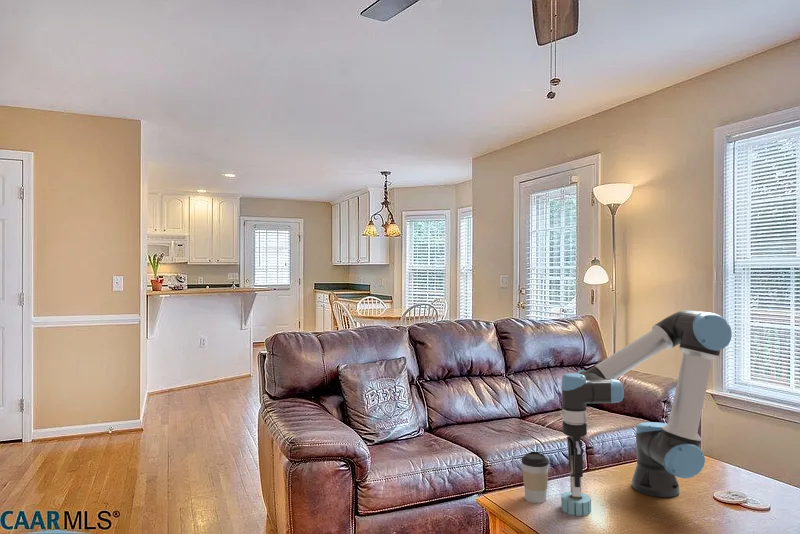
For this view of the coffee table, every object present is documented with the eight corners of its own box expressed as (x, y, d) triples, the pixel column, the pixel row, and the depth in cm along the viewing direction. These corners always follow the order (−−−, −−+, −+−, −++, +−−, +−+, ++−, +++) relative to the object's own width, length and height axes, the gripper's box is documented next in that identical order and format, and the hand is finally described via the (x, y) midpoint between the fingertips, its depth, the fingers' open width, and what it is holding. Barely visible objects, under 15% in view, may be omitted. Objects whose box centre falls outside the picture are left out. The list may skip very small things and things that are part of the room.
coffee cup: (550, 505, 174) (549, 460, 174) (522, 503, 176) (521, 458, 176) (548, 494, 183) (547, 451, 183) (521, 492, 185) (521, 449, 185)
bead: (587, 503, 175) (587, 491, 175) (593, 516, 166) (593, 503, 166) (559, 502, 176) (559, 490, 176) (564, 515, 167) (564, 502, 167)
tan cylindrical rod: (579, 504, 172) (578, 455, 172) (580, 507, 170) (579, 457, 170) (571, 503, 172) (570, 455, 173) (572, 507, 170) (571, 457, 170)
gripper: (558, 415, 179) (559, 484, 179) (567, 428, 164) (568, 504, 164) (581, 415, 178) (582, 485, 178) (591, 429, 163) (593, 504, 163)
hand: (575, 493), depth 171 cm, fingers closed on tan cylindrical rod, 2 cm apart
